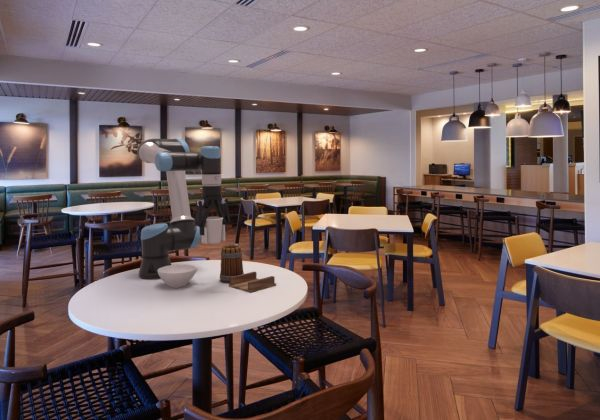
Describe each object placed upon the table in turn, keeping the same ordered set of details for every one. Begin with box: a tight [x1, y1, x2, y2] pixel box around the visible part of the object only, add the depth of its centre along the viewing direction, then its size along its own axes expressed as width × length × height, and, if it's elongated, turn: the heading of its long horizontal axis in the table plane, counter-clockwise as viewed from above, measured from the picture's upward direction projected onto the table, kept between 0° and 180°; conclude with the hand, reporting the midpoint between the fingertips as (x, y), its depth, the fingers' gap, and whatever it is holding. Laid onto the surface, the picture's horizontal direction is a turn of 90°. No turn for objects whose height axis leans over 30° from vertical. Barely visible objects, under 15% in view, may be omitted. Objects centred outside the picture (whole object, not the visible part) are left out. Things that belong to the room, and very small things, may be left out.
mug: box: [219, 243, 245, 284], centre depth 194 cm, size 16×11×15 cm
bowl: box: [157, 263, 197, 288], centre depth 186 cm, size 16×16×7 cm
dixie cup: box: [204, 216, 223, 245], centre depth 177 cm, size 8×8×10 cm
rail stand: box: [228, 271, 277, 293], centre depth 183 cm, size 14×14×4 cm
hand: (213, 241), depth 177 cm, fingers closed on dixie cup, 8 cm apart
